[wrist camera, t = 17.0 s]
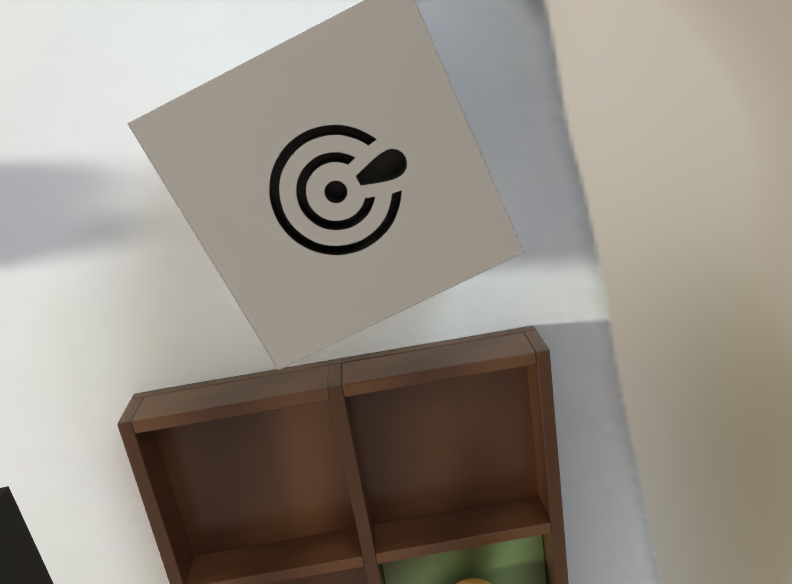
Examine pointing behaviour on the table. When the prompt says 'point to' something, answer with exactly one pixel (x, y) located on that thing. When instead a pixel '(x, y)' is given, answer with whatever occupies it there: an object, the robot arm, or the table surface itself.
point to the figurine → (473, 581)
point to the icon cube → (332, 179)
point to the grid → (359, 469)
